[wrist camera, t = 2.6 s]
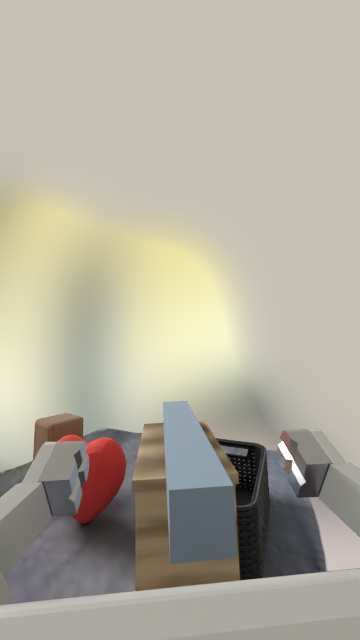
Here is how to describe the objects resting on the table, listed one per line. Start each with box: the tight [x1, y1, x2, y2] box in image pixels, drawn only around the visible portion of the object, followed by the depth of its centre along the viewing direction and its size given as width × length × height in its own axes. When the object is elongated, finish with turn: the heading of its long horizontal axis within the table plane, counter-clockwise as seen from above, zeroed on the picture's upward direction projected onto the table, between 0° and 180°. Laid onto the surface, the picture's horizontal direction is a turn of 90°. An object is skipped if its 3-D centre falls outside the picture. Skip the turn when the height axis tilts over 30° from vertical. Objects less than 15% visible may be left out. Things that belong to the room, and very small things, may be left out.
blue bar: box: [163, 401, 237, 564], centre depth 27 cm, size 26×4×4 cm, turn 5°
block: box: [33, 413, 83, 461], centre depth 69 cm, size 10×10×20 cm
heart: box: [57, 435, 126, 524], centre depth 56 cm, size 20×9×19 cm, turn 74°
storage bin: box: [216, 438, 270, 580], centre depth 54 cm, size 29×19×13 cm
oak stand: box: [132, 421, 240, 591], centre depth 31 cm, size 19×11×26 cm, turn 5°
